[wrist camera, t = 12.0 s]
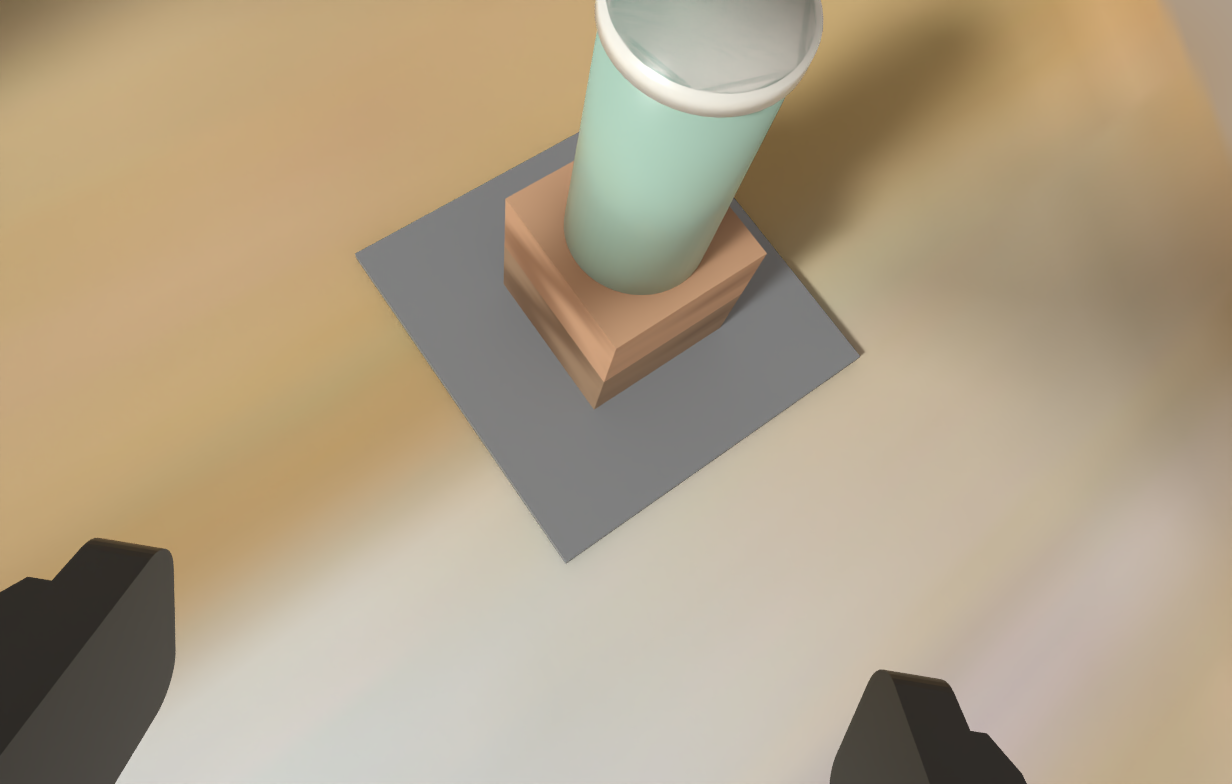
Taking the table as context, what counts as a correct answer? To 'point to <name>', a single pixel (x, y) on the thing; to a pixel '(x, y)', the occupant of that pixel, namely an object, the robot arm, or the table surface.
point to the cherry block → (605, 317)
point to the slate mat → (548, 397)
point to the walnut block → (574, 357)
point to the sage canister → (676, 128)
